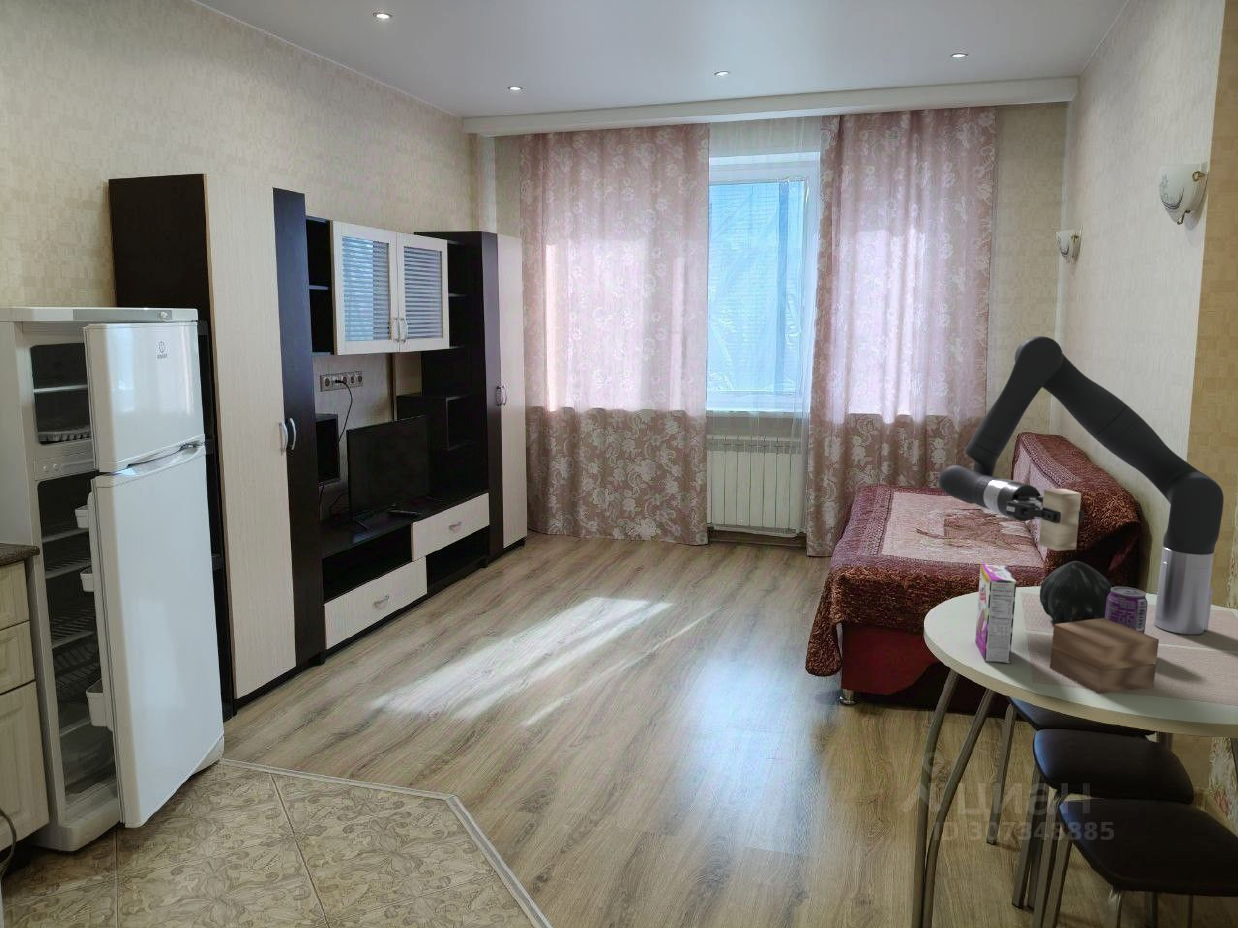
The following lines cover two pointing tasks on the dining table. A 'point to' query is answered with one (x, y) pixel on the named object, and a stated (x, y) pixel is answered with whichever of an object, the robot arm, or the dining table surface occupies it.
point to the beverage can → (1127, 607)
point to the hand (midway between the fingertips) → (1070, 517)
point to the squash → (1075, 593)
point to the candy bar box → (995, 613)
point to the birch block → (1067, 529)
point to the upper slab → (1105, 644)
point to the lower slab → (1102, 674)
